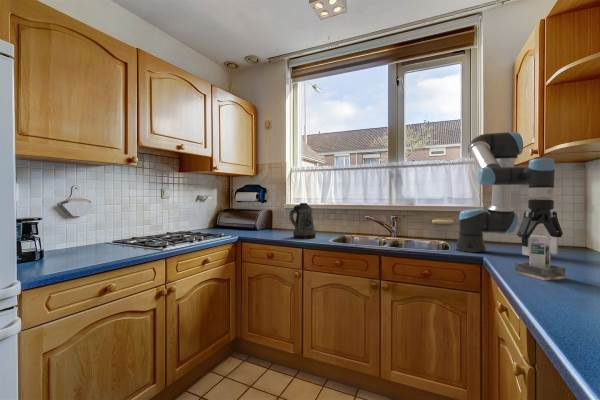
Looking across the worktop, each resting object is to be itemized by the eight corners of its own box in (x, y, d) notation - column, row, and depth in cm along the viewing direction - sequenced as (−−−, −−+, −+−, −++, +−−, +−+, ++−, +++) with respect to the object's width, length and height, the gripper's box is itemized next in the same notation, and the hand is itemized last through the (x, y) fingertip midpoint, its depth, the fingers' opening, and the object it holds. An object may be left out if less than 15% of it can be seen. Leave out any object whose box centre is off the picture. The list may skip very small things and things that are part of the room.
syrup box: (528, 272, 110) (529, 235, 110) (531, 270, 114) (532, 234, 114) (548, 275, 106) (549, 236, 106) (550, 273, 110) (551, 235, 110)
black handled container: (319, 237, 211) (320, 203, 211) (306, 240, 194) (306, 203, 194) (300, 235, 220) (301, 202, 219) (286, 238, 203) (286, 203, 203)
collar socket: (535, 271, 117) (535, 261, 117) (565, 278, 106) (565, 267, 106) (515, 272, 114) (515, 262, 114) (544, 280, 104) (544, 269, 104)
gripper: (526, 198, 103) (525, 257, 103) (575, 199, 110) (574, 254, 110) (506, 198, 110) (505, 253, 110) (553, 199, 117) (552, 251, 117)
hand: (539, 254), depth 110 cm, fingers open, 13 cm apart
